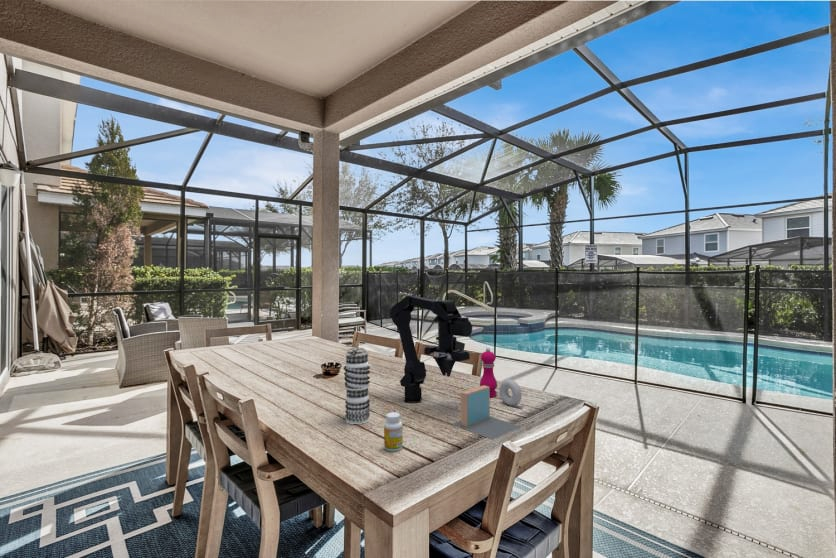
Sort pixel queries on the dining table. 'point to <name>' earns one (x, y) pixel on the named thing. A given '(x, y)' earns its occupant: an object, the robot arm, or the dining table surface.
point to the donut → (515, 391)
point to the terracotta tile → (475, 405)
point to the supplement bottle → (393, 432)
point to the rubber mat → (490, 427)
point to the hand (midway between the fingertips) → (446, 376)
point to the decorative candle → (357, 386)
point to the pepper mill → (488, 372)
